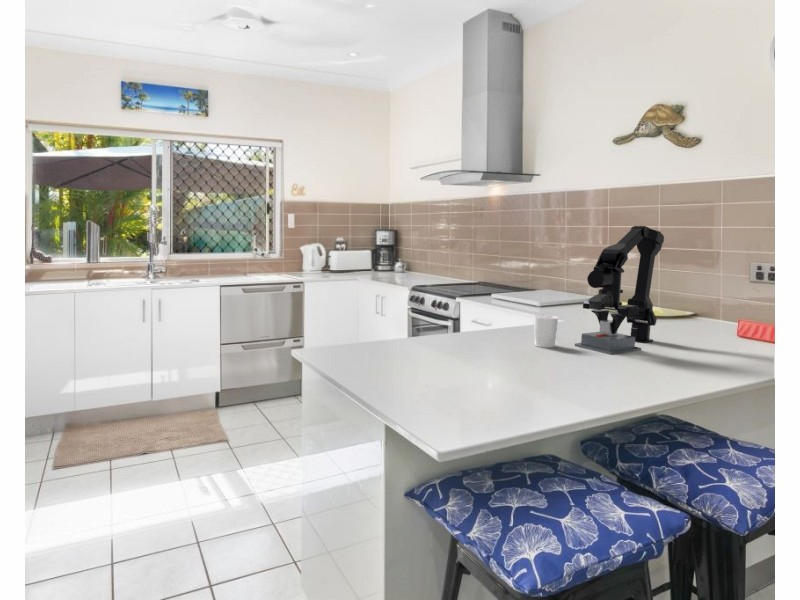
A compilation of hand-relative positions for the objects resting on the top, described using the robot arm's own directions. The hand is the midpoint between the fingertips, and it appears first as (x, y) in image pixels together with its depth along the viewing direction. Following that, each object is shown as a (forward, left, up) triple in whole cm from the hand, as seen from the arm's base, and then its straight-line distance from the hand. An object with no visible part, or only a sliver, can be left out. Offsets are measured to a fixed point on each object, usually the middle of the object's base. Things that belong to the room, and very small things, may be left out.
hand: (608, 332), depth 190 cm
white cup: (+17, -12, -6) cm, 22 cm away
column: (0, 0, -5) cm, 5 cm away
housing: (0, 0, -5) cm, 5 cm away
